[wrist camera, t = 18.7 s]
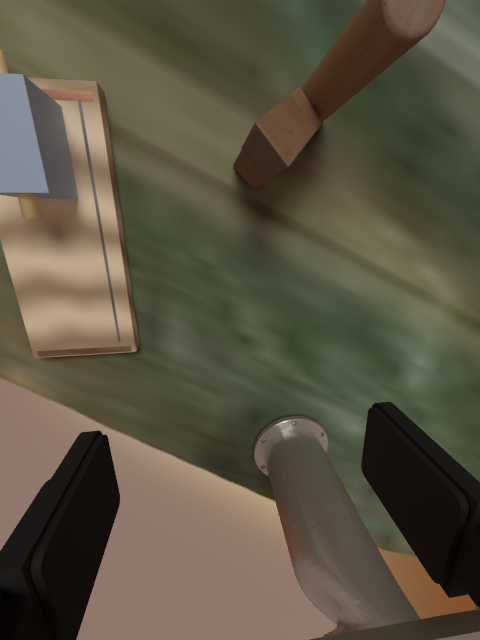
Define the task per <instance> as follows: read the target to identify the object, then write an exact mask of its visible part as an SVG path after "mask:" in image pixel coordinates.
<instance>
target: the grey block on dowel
mask: <svg viewBox="0 0 480 640" xmlns="http://www.w3.org/2000/svg"><path fill="white" fill-rule="evenodd" d="M0 195H5V196H12V197H18V200H19V204H20V208H21V212H22V215H23V219H42V215H41V211H40V207H39V202H38V199H79V198H78V193H77V187H76V182H75V177H74V171H73V166H72V160H71V155H70V150H69V144H68V139H67V134H66V128H65V123H64V117H63V112H62V107H61V106H60V105H59V104H58V103H57V102H56V101H54V100H53V99H52V98H51V97H50V96H48V95H47V94H46V93H45V92H44V91H42V90H41V89H40V88H39V87H37V86H36V85H35V84H34V83H33V82H31V81H30V80H29V79H28V78H27V77H25V76H24V75H23V74H9V73H8V69H7V64H6V60H5V56H4V52H3V51H2V50H1V49H0Z"/></svg>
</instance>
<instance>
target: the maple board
mask: <svg viewBox="0 0 480 640" xmlns="http://www.w3.org/2000/svg"><path fill="white" fill-rule="evenodd" d="M28 79H29V80H30V81H31V82H33V83H34V84H35V85H36V86H37V87H39V88H40V89H41V90H42V91H44V92H45V93H46V94H47V95H48V96H50V97H51V98H52V99H53V100H54V101H56V102H57V103H58V104H59V105H60V106H61V107H62V112H63V117H64V123H65V128H66V134H67V139H68V144H69V150H70V155H71V160H72V166H73V171H74V177H75V182H76V187H77V193H78V198H79V199H38V202H39V207H40V211H41V215H42V219H23V215H22V212H21V208H20V204H19V200H18V197H12V196H5V195H0V240H1V243H2V247H3V250H4V254H5V257H6V261H7V264H8V268H9V271H10V275H11V278H12V282H13V285H14V289H15V292H16V296H17V299H18V303H19V306H20V310H21V313H22V317H23V320H24V324H25V327H26V331H27V334H28V338H29V341H30V345H31V348H32V352H33V355H34V358H44V357H60V356H76V355H93V354H109V353H125V352H136V351H137V349H138V347H139V339H138V332H137V325H136V318H135V311H134V303H133V296H132V289H131V282H130V275H129V268H128V261H127V254H126V247H125V240H124V233H123V225H122V218H121V211H120V204H119V197H118V190H117V183H116V176H115V169H114V162H113V155H112V148H111V140H110V133H109V126H108V119H107V112H106V105H105V98H104V91H103V90H102V88H101V87H100V86H99V84H98V83H97V82H96V81H79V80H60V79H41V78H28Z"/></svg>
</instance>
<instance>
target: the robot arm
mask: <svg viewBox="0 0 480 640" xmlns="http://www.w3.org/2000/svg"><path fill="white" fill-rule="evenodd" d="M327 449H328V438H327V434H326V433H325V431H324V429H323V428H322V426H321V425H320V424H319V423H318V422H317V421H315V420H313V419H312V418H309V417H305V416H288V417H283V418H281V419H278V420H276V421H274V422H272V423H271V424H269V425H268V426H267V427H265V428H264V429H263V430H262V432H261V433H260V434H259V435H258V437H257V439H256V441H255V444H254V449H253V453H254V459H255V462H256V465H257V466H258V468H259V469H260V470H261V471H262V472H263V473H264V474H266V475H267V476H269V479H270V482H271V486H272V490H273V494H274V497H275V501H276V505H277V509H278V512H279V516H280V520H281V523H282V527H283V531H284V534H285V539H286V542H287V546H288V550H289V554H290V557H291V561H292V564H293V568H294V572H295V575H296V578H297V580H298V582H299V585H300V587H301V588H302V590H303V591H304V593H305V594H306V596H307V597H308V598H309V600H310V601H311V602H312V603H313V604H314V605H315V606H316V607H317V608H318V609H319V610H320V611H321V612H323V613H324V614H325V615H326V616H327V617H328V618H330V619H331V620H332V621H333V622H334V623H336V624H337V625H338V626H337V628H336V629H335V630H333V631H332V632H329V633H328V634H326V635H324V637H321V638H316V639H310V640H480V482H479V481H478V480H476V479H475V478H474V477H473V476H472V475H471V474H470V473H469V472H468V471H467V470H465V469H464V468H463V467H462V466H461V465H460V464H459V463H458V462H457V461H456V460H454V459H453V458H452V457H451V456H450V455H449V454H448V453H447V452H446V451H445V450H443V449H442V448H441V447H440V446H439V445H438V444H437V443H436V442H435V441H434V440H432V439H431V438H430V437H429V436H428V435H427V434H426V433H425V432H424V431H423V430H421V429H420V428H419V427H418V426H417V425H416V424H415V423H414V422H413V421H412V420H410V419H409V418H408V417H407V416H406V415H405V414H404V413H403V412H402V411H401V410H399V409H398V408H397V407H396V406H395V405H394V404H393V403H391V402H383V403H375V404H373V405H372V408H370V409H369V411H368V417H367V425H366V433H365V440H364V448H363V456H362V463H361V467H362V472H363V474H364V476H365V478H366V479H367V481H368V482H369V484H370V485H371V487H372V489H373V490H374V492H375V493H376V495H377V496H378V498H379V499H380V501H381V502H382V504H383V505H384V507H385V508H386V510H387V512H388V513H389V515H390V516H391V518H392V519H393V521H394V522H395V524H396V525H397V527H398V528H399V530H400V531H401V533H402V534H403V536H404V538H405V539H406V541H407V542H408V544H409V545H410V547H411V548H412V550H413V551H414V553H415V554H416V556H417V557H418V559H419V560H420V562H421V564H422V565H423V567H424V568H425V570H426V571H427V573H428V574H429V576H430V577H431V579H432V580H433V581H434V582H435V583H437V584H440V585H441V587H442V588H443V590H444V591H445V593H446V594H447V595H448V597H449V598H451V597H457V596H462V595H467V593H468V595H469V596H470V597H471V599H472V600H473V601H474V603H475V605H476V610H473V611H467V612H460V613H453V614H448V615H442V616H436V617H431V618H425V619H421V618H420V617H419V616H418V614H417V613H416V611H415V610H414V608H413V606H412V605H411V604H410V602H409V601H408V599H407V597H406V596H405V594H404V593H403V591H402V590H401V588H400V586H399V585H398V583H397V581H396V580H395V578H394V576H393V575H392V573H391V571H390V569H389V568H388V566H387V564H386V562H385V561H384V559H383V557H382V555H381V554H380V552H379V550H378V548H377V546H376V544H375V543H374V541H373V539H372V537H371V535H370V533H369V532H368V530H367V528H366V526H365V524H364V522H363V521H362V519H361V517H360V515H359V513H358V511H357V509H356V507H355V506H354V504H353V502H352V500H351V498H350V496H349V495H348V493H347V491H346V489H345V487H344V485H343V483H342V482H341V480H340V478H339V476H338V474H337V472H336V471H335V469H334V467H333V465H332V463H331V461H330V459H329V458H328V456H327V454H326V453H327ZM119 503H120V494H119V489H118V484H117V479H116V475H115V470H114V465H113V461H112V456H111V451H110V446H109V442H108V437H107V435H102V433H101V431H91V432H82V433H81V434H80V435H79V436H78V437H77V439H76V440H75V442H74V443H73V445H72V447H71V448H70V450H69V451H68V453H67V455H66V456H65V458H64V459H63V461H62V463H61V464H60V465H59V467H58V469H57V470H56V472H55V473H54V475H53V476H52V478H51V479H50V480H48V481H47V482H46V483H45V484H44V485H43V487H42V488H41V489H40V491H39V492H38V494H37V496H36V497H35V499H34V500H33V502H32V503H31V505H30V506H29V508H28V509H27V511H26V513H25V514H24V516H23V517H22V519H21V520H20V522H19V523H18V525H17V526H16V528H15V529H14V531H13V533H12V534H11V536H10V537H9V539H8V540H7V542H6V544H5V545H4V546H3V548H2V549H1V551H0V640H76V638H77V635H78V632H79V629H80V626H81V623H82V619H83V617H84V614H85V611H86V607H87V604H88V601H89V598H90V595H91V592H92V589H93V586H94V582H95V579H96V576H97V573H98V570H99V567H100V564H101V561H102V558H103V555H104V551H105V548H106V545H107V542H108V539H109V536H110V533H111V530H112V527H113V523H114V520H115V517H116V514H117V511H118V508H119Z"/></svg>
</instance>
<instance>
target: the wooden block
mask: <svg viewBox="0 0 480 640" xmlns="http://www.w3.org/2000/svg"><path fill="white" fill-rule="evenodd" d="M444 5H445V0H367V1H366V2H365V3H364V5H363V6H362V7H361V9H360V10H359V11H358V13H357V14H356V15H355V17H354V18H353V19H352V21H351V22H350V23H349V25H348V26H347V28H346V29H345V30H344V32H343V33H342V34H341V36H340V37H339V38H338V40H337V41H336V42H335V44H334V45H333V46H332V48H331V49H330V50H329V52H328V53H327V54H326V56H325V57H324V58H323V60H322V61H321V63H320V64H319V65H318V67H317V68H316V69H315V71H314V72H313V73H312V75H311V76H310V77H309V79H308V80H307V81H306V83H305V84H304V85H303V86H302V88H300V87H298V88H296V89H295V90H294V91H292V92H291V93H290V94H289V95H288V96H286V97H285V98H284V99H283V100H282V101H280V102H279V103H278V104H277V105H276V106H274V107H273V108H272V109H271V110H269V111H268V112H267V113H266V114H265V115H263V116H262V117H261V118H260V119H259V120H257V121H256V122H255V124H254V126H253V128H252V130H251V131H250V133H249V135H248V137H247V139H246V141H245V143H244V144H243V146H242V148H241V149H242V150H241V151H240V153H239V155H238V157H237V159H236V161H235V162H234V168H235V169H236V170H237V171H238V172H239V174H240V175H241V176H242V177H243V178H244V180H245V181H246V182H247V183H248V184H249V186H250V187H251V188H253V189H255V188H257V187H258V186H260V185H261V184H263V183H264V182H266V181H268V180H269V179H271V178H272V177H274V176H276V175H277V174H279V173H280V172H282V171H283V170H285V169H286V168H288V167H289V166H290V165H291V164H292V163H293V161H294V160H295V159H296V157H297V156H298V155H299V153H300V152H301V151H302V150H303V148H304V147H305V146H306V144H307V143H308V142H309V140H310V139H311V138H312V136H313V135H314V134H315V133H316V131H317V130H318V129H319V127H320V126H321V125H322V123H323V121H324V120H325V119H327V118H328V117H329V116H330V115H331V114H333V113H334V112H335V111H336V110H337V109H339V108H340V107H341V106H342V105H343V104H345V103H346V102H347V101H348V100H349V99H351V98H352V97H353V96H354V95H355V94H357V93H358V92H359V91H360V90H361V89H363V88H364V87H365V86H366V85H367V84H369V83H370V82H371V81H372V80H373V79H375V78H376V77H377V76H378V75H379V74H381V73H382V72H383V71H384V70H385V69H387V68H388V67H389V66H390V65H391V64H393V63H394V62H395V61H396V60H397V59H399V58H400V57H401V56H402V55H403V54H405V53H406V52H407V51H408V50H409V49H411V48H412V47H413V46H414V45H415V44H417V43H418V42H419V41H420V40H421V39H423V38H424V37H425V36H426V35H427V34H429V32H430V31H431V30H432V28H433V27H434V26H435V24H436V23H437V21H438V19H439V17H440V15H441V13H442V10H443V8H444Z"/></svg>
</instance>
